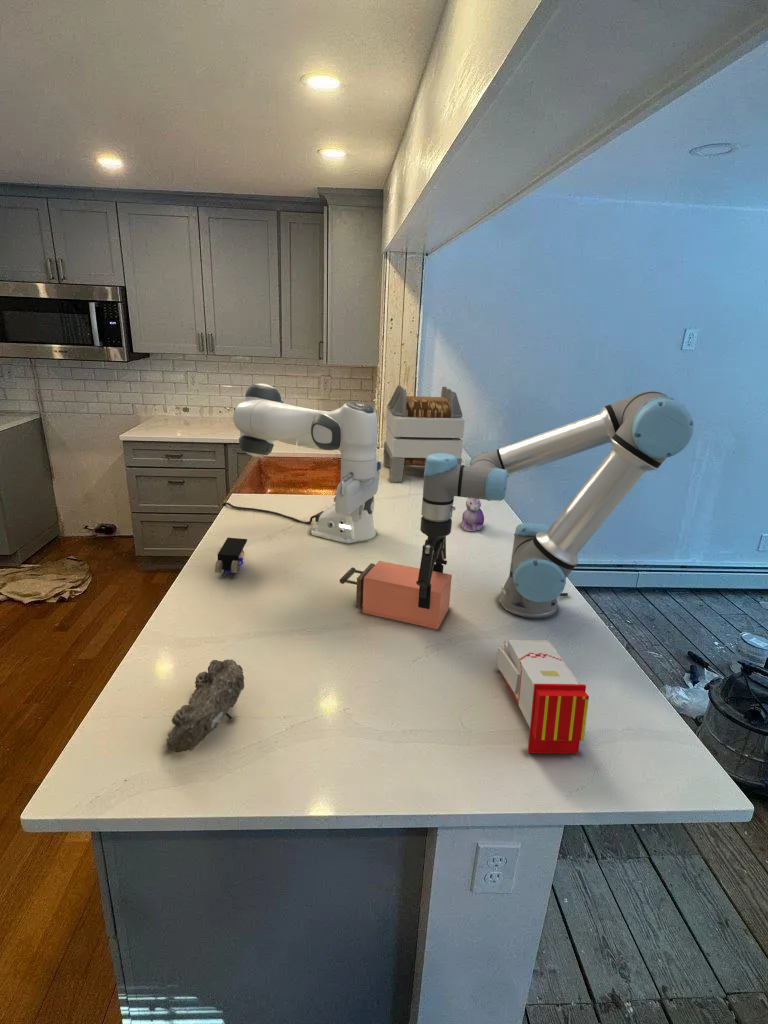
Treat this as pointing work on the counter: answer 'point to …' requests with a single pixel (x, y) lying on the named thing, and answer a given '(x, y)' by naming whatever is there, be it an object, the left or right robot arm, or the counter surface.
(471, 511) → the figurine
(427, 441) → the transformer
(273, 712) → the counter surface
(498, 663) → the toy
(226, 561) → the figurine character
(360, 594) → the drawer
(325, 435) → the left robot arm
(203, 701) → the fossil
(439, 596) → the cabinet
